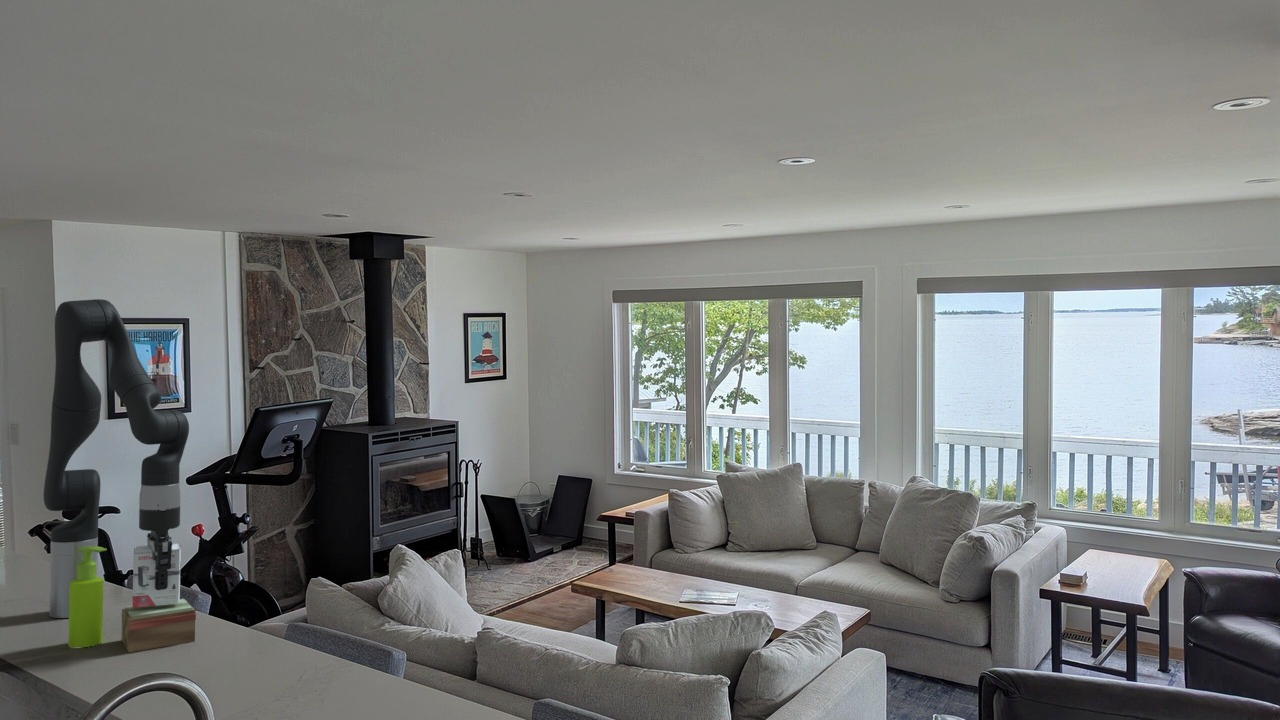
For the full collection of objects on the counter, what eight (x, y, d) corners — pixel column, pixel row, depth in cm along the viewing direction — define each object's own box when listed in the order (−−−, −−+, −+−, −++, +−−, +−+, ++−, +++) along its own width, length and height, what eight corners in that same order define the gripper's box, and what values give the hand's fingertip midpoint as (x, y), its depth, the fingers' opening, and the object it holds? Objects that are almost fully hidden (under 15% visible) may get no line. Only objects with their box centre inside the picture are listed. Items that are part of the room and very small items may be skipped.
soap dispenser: (90, 649, 174) (91, 550, 174) (61, 647, 175) (63, 548, 175) (113, 641, 179) (115, 544, 180) (85, 638, 181) (86, 543, 181)
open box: (121, 640, 180) (122, 606, 180) (185, 629, 187) (185, 597, 188) (129, 653, 172) (129, 617, 172) (195, 641, 179) (195, 608, 179)
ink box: (132, 609, 176) (133, 551, 176) (132, 602, 180) (133, 546, 180) (180, 604, 180) (181, 547, 180) (179, 597, 184) (180, 542, 184)
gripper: (134, 502, 184) (132, 582, 183) (145, 511, 172) (143, 596, 172) (173, 499, 188) (172, 577, 188) (186, 508, 177) (185, 590, 177)
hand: (158, 586), depth 180 cm, fingers closed on ink box, 5 cm apart
